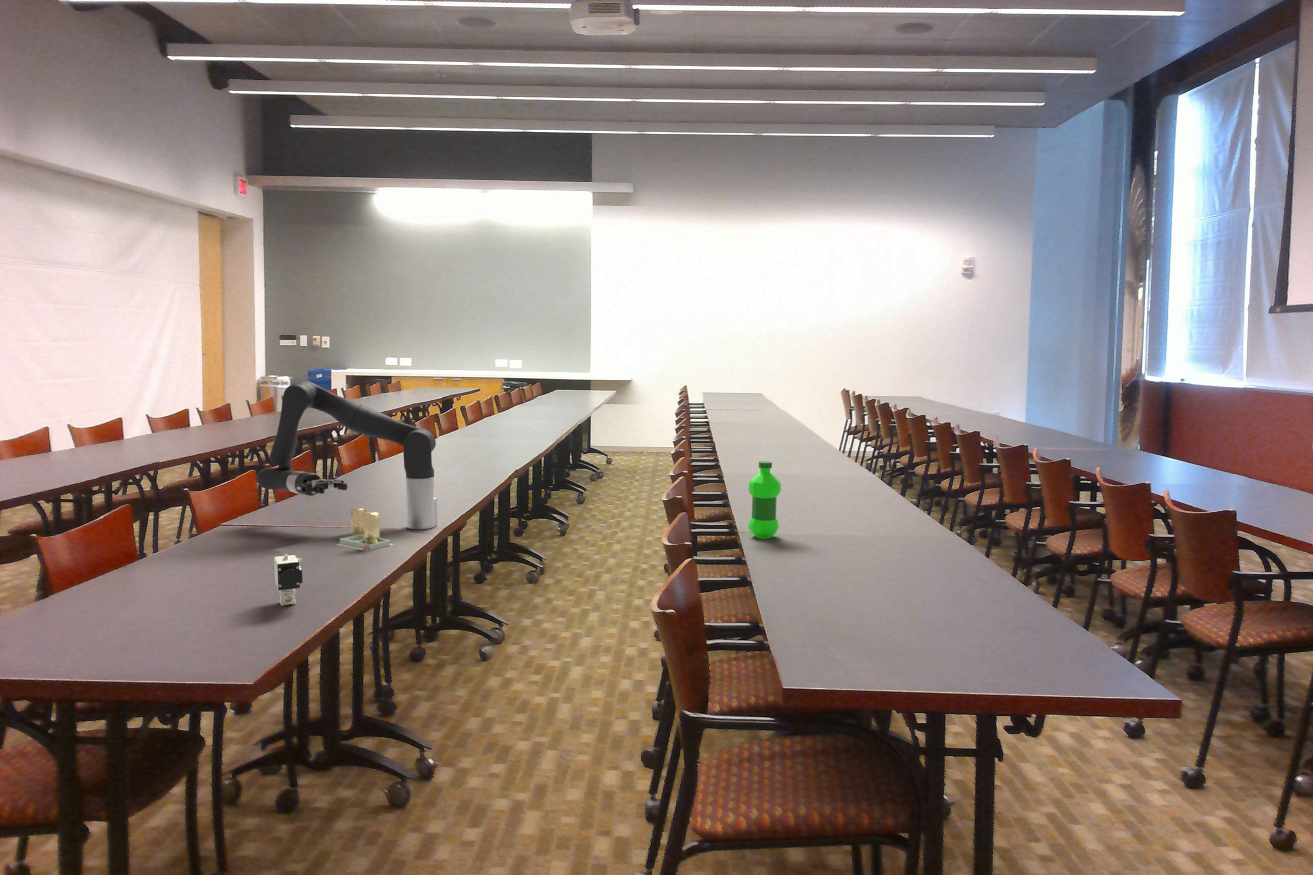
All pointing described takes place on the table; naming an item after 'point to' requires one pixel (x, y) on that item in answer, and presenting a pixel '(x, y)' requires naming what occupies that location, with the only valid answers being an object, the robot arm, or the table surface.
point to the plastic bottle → (764, 502)
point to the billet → (357, 521)
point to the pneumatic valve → (287, 577)
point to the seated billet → (371, 527)
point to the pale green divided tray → (362, 543)
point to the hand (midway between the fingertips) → (335, 488)
